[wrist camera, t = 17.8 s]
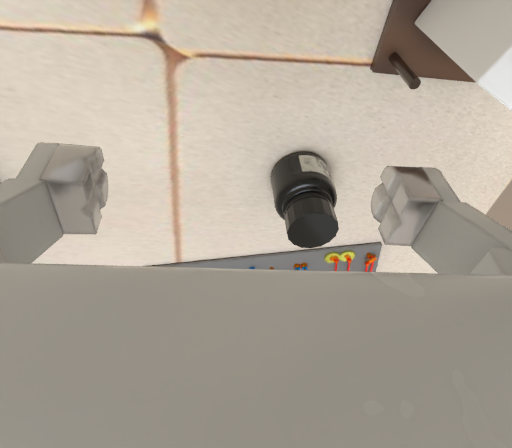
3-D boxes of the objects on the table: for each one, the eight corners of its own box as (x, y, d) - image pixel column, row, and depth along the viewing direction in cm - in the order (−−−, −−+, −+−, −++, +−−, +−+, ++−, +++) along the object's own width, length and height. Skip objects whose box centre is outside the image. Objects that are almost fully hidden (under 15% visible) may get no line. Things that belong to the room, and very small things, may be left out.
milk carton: (507, -6, 41) (645, 68, 28) (454, 53, 46) (552, 142, 32) (465, -45, 38) (595, 17, 25) (412, 22, 43) (501, 106, 29)
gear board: (165, 330, 83) (139, 277, 70) (166, 320, 85) (141, 266, 72) (370, 309, 83) (384, 251, 69) (367, 299, 85) (380, 241, 71)
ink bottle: (337, 183, 60) (356, 239, 52) (287, 205, 63) (298, 262, 55) (313, 138, 54) (330, 193, 46) (258, 165, 57) (265, 222, 48)
